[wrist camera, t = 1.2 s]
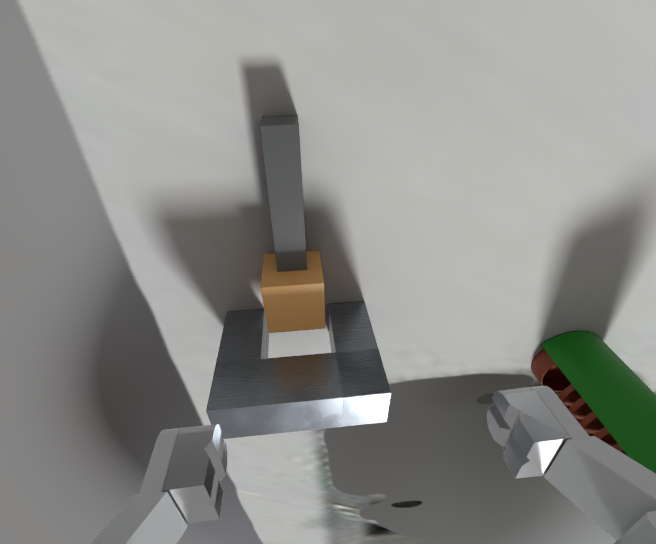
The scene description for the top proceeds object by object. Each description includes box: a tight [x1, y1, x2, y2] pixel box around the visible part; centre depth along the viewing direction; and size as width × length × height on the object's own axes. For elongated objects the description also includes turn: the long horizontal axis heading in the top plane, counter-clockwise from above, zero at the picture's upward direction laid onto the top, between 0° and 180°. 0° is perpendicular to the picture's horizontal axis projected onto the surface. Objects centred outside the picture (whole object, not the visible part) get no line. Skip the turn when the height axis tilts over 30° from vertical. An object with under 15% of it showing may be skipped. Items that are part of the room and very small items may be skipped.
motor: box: [531, 331, 656, 474], centre depth 36 cm, size 10×9×20 cm
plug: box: [260, 115, 325, 333], centre depth 27 cm, size 16×5×5 cm, turn 1°
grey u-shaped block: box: [206, 301, 391, 439], centre depth 32 cm, size 4×14×11 cm, turn 91°
